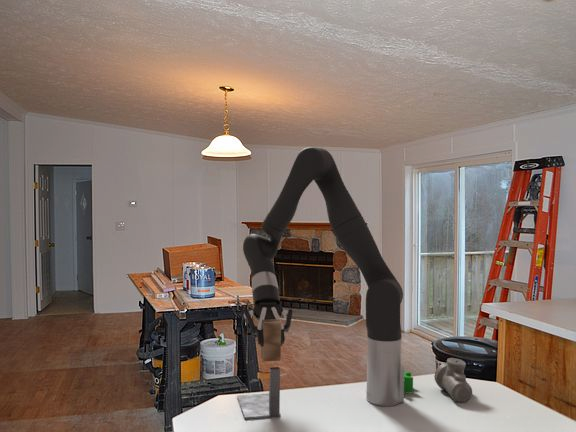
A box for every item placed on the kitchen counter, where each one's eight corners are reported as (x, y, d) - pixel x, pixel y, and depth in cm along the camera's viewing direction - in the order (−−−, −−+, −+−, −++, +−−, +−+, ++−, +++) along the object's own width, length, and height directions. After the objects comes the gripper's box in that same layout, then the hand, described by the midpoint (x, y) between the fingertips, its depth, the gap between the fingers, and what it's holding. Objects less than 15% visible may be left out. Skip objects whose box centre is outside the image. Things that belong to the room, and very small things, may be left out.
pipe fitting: (432, 386, 147) (436, 353, 146) (459, 388, 147) (463, 355, 146) (445, 406, 135) (450, 370, 134) (474, 409, 135) (480, 373, 134)
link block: (277, 355, 135) (278, 318, 135) (280, 360, 131) (281, 322, 131) (260, 356, 135) (261, 319, 134) (263, 361, 130) (264, 323, 130)
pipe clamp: (414, 397, 140) (414, 381, 140) (400, 396, 140) (400, 380, 140) (409, 383, 151) (409, 368, 151) (396, 383, 151) (396, 367, 151)
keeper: (269, 395, 139) (269, 352, 139) (280, 416, 125) (281, 368, 125) (237, 397, 137) (237, 354, 137) (244, 419, 123) (245, 371, 123)
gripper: (241, 283, 139) (246, 338, 127) (292, 283, 142) (300, 336, 130) (239, 299, 144) (243, 353, 132) (287, 298, 147) (295, 351, 135)
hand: (271, 344), depth 131 cm, fingers closed on link block, 4 cm apart
